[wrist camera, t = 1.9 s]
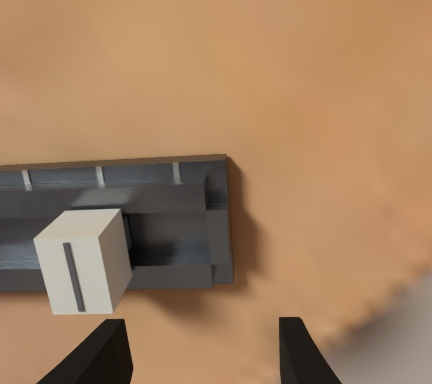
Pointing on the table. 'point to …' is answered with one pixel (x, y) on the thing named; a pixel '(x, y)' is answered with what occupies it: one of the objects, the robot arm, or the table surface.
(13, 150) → the table surface
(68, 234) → the fader knob
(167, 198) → the console
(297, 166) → the table surface
